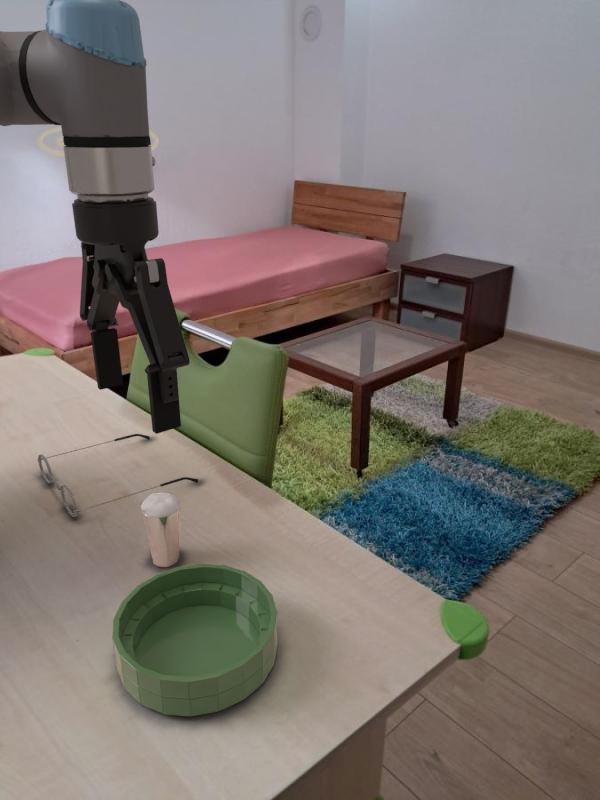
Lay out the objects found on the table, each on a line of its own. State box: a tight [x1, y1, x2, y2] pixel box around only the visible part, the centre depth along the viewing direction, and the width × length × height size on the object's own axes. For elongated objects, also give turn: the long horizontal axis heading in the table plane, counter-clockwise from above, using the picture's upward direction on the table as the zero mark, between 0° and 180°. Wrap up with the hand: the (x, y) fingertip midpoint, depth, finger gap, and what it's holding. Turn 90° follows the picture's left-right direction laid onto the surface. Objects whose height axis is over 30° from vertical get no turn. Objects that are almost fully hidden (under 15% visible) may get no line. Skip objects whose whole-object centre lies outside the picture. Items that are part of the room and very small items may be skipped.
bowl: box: [111, 563, 278, 717], centre depth 65 cm, size 16×16×5 cm
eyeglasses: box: [37, 433, 199, 518], centre depth 97 cm, size 18×19×4 cm
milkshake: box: [134, 491, 181, 568], centre depth 77 cm, size 4×5×10 cm
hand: (136, 406), depth 67 cm, fingers open, 13 cm apart
